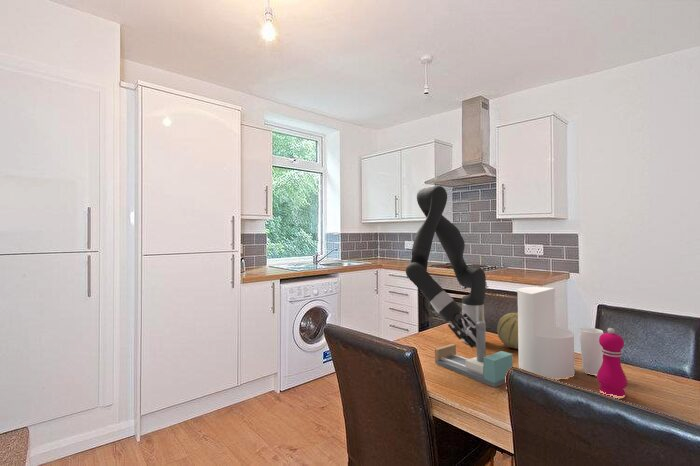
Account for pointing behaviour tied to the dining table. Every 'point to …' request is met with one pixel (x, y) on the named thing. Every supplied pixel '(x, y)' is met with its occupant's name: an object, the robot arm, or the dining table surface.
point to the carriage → (478, 349)
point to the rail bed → (492, 375)
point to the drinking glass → (591, 349)
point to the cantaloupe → (508, 330)
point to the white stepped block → (543, 335)
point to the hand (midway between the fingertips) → (478, 342)
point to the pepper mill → (611, 364)
